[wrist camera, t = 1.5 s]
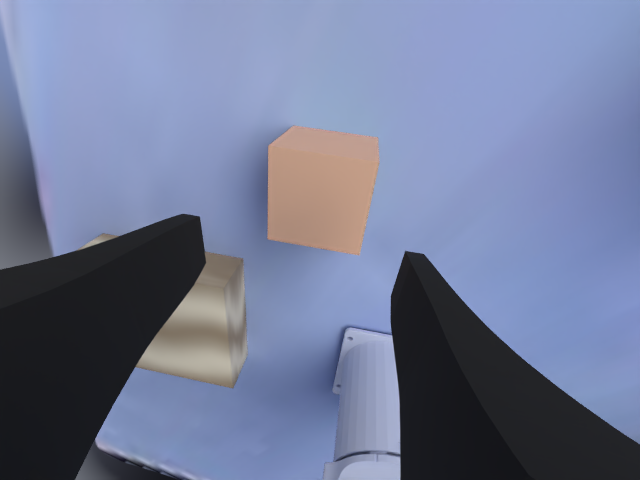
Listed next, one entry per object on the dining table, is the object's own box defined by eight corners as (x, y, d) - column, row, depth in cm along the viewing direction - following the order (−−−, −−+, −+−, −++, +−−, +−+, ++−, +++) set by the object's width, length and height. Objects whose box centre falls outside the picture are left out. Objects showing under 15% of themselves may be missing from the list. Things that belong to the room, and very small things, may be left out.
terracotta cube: (362, 213, 20) (359, 255, 15) (289, 201, 20) (267, 239, 16) (377, 137, 17) (379, 162, 13) (293, 125, 17) (268, 145, 13)
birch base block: (249, 351, 30) (233, 388, 26) (139, 328, 31) (110, 361, 27) (245, 255, 23) (223, 288, 20) (106, 231, 24) (63, 258, 21)
